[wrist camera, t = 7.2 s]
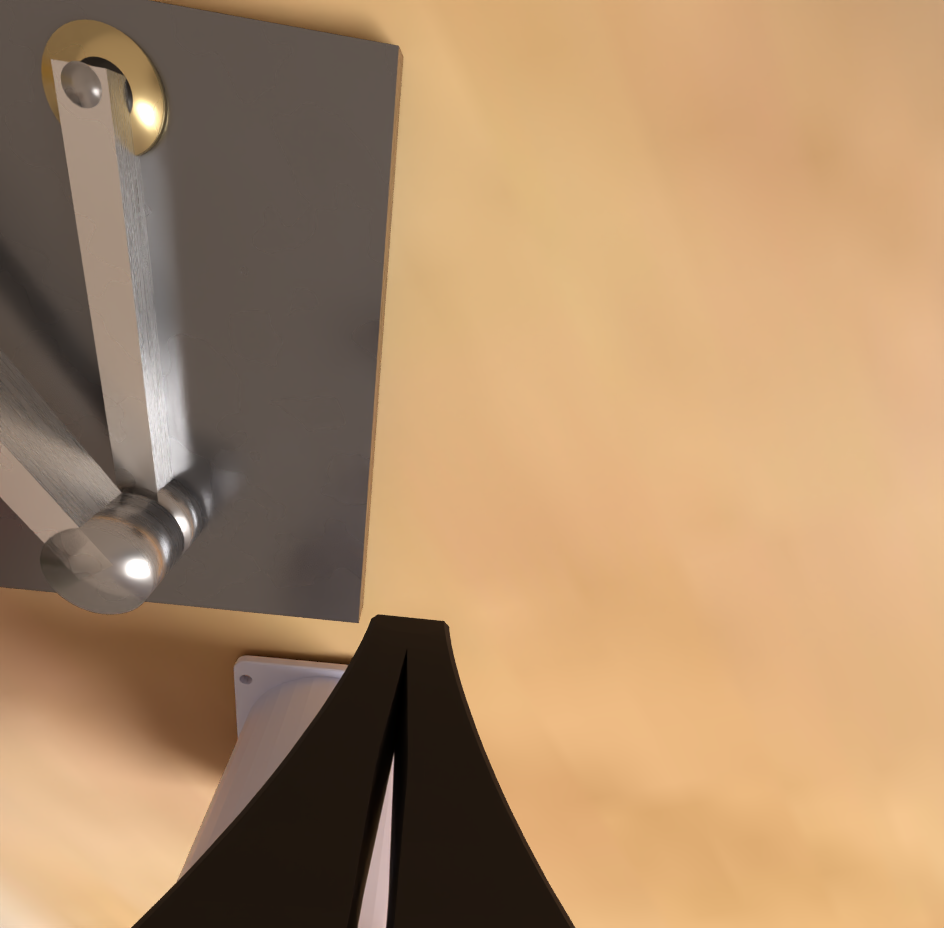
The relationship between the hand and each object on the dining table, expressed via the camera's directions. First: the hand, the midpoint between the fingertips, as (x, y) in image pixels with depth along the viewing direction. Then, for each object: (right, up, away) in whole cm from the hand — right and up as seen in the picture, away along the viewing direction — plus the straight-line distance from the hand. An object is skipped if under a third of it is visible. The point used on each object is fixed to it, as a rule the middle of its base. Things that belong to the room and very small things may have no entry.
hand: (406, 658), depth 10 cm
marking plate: (-11, +7, +7) cm, 15 cm away
